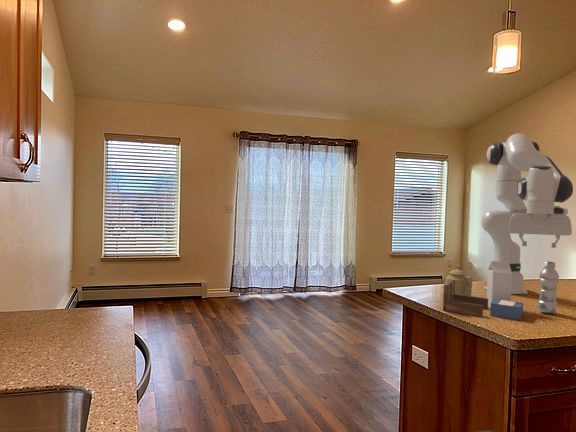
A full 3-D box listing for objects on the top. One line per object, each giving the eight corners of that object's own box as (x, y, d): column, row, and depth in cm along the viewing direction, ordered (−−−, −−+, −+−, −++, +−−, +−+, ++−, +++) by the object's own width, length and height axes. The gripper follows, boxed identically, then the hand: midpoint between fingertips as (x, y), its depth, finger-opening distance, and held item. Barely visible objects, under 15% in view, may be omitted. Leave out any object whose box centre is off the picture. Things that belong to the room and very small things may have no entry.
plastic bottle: (538, 309, 177) (541, 260, 176) (558, 313, 173) (561, 262, 172) (535, 312, 172) (538, 262, 171) (555, 316, 168) (558, 264, 167)
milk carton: (510, 310, 175) (512, 263, 174) (491, 309, 176) (493, 262, 175) (504, 306, 182) (506, 260, 181) (486, 305, 183) (488, 259, 182)
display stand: (451, 303, 185) (452, 279, 185) (487, 308, 178) (488, 283, 178) (442, 310, 172) (443, 285, 172) (482, 316, 165) (483, 289, 164)
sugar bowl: (484, 299, 193) (485, 265, 193) (468, 302, 187) (470, 267, 187) (455, 293, 206) (456, 261, 205) (439, 295, 200) (441, 262, 199)
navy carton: (494, 311, 174) (494, 298, 174) (522, 315, 169) (523, 302, 168) (490, 316, 167) (490, 303, 166) (520, 320, 161) (520, 307, 161)
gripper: (507, 208, 165) (506, 245, 165) (572, 209, 155) (571, 249, 155) (509, 209, 171) (508, 244, 171) (572, 210, 160) (571, 248, 160)
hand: (538, 246), depth 163 cm, fingers open, 8 cm apart
